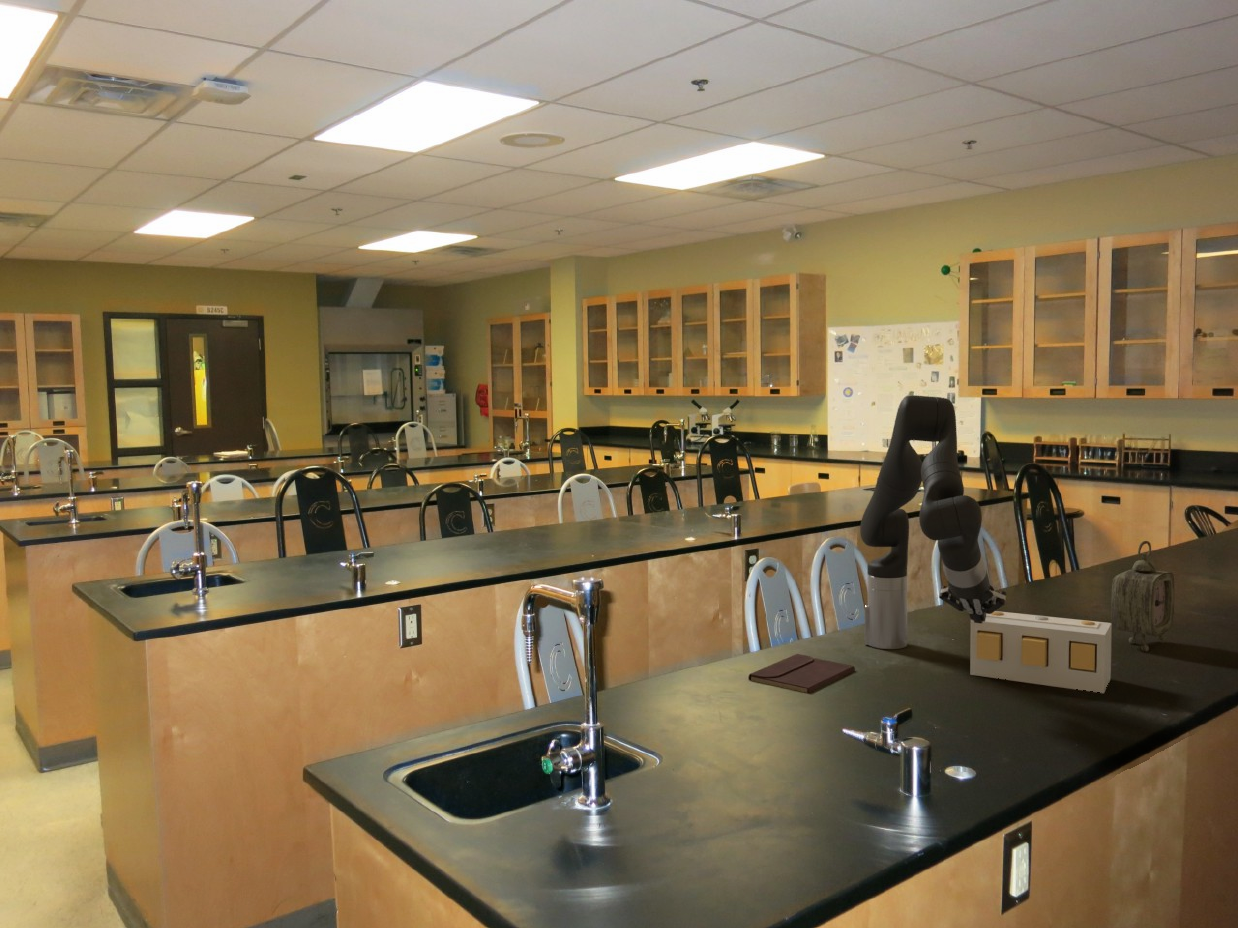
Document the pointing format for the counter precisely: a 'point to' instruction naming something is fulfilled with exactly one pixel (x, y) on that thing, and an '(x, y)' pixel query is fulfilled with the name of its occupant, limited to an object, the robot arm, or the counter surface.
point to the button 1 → (989, 645)
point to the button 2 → (1083, 655)
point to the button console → (1058, 650)
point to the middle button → (1034, 651)
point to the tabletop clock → (1143, 600)
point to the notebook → (801, 673)
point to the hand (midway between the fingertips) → (979, 619)
